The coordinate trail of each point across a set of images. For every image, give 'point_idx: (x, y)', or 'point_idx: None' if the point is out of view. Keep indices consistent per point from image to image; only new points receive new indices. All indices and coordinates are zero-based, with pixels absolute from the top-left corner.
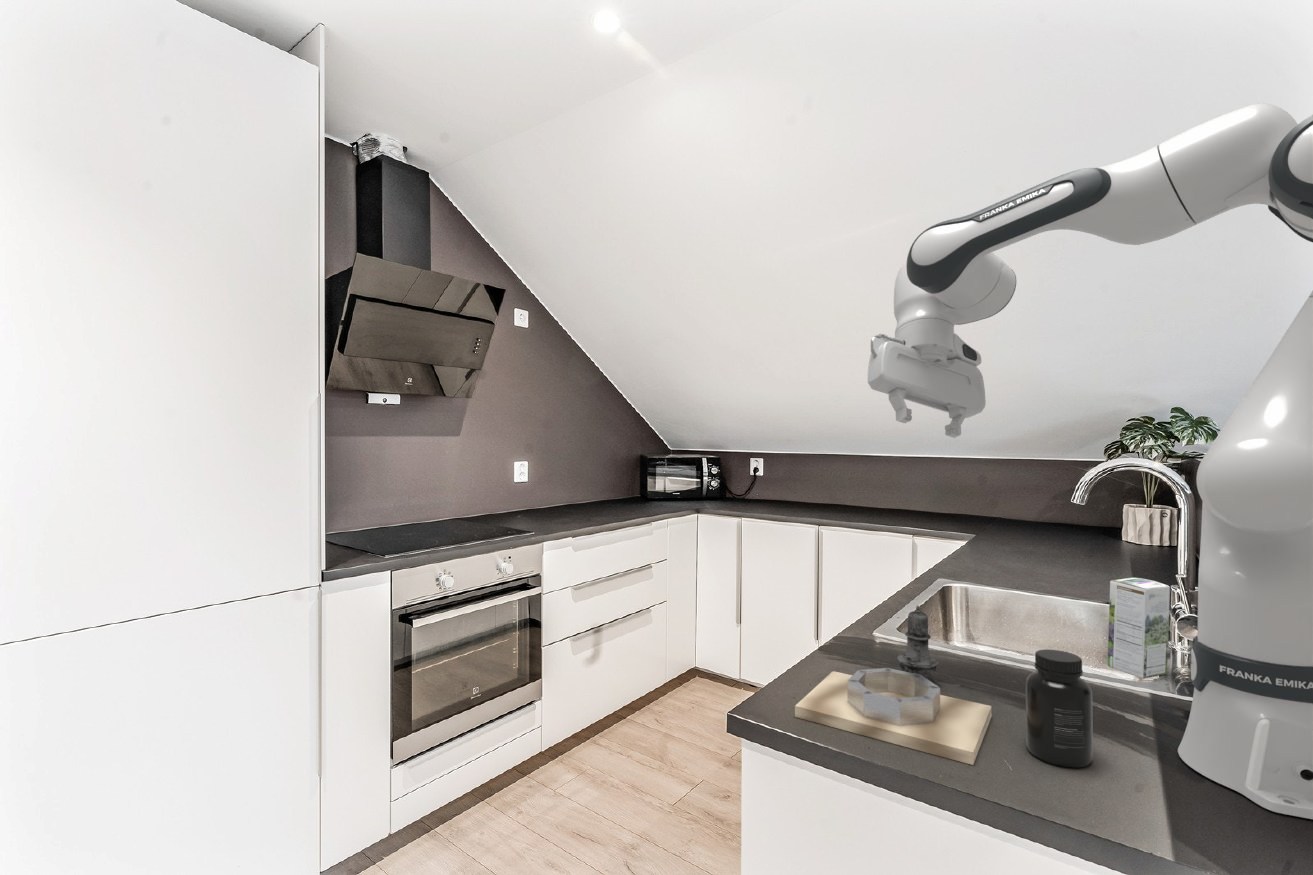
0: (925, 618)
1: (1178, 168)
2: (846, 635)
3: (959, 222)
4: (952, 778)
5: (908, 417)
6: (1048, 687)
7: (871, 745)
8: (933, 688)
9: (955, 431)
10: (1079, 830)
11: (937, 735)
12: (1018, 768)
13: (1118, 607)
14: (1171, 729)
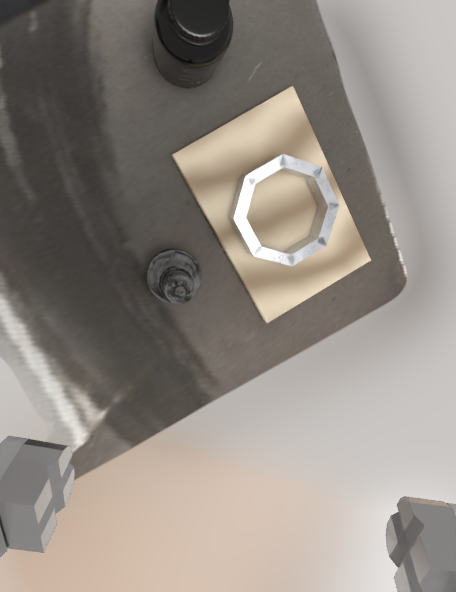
0: (178, 274)
1: None
2: (129, 447)
3: None
4: (326, 83)
5: (434, 506)
6: (229, 13)
7: (342, 172)
8: (255, 177)
9: (51, 446)
10: None
11: (293, 132)
12: (252, 60)
13: None
14: None
